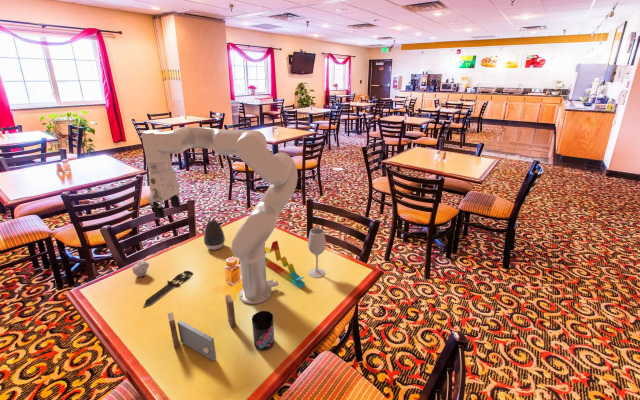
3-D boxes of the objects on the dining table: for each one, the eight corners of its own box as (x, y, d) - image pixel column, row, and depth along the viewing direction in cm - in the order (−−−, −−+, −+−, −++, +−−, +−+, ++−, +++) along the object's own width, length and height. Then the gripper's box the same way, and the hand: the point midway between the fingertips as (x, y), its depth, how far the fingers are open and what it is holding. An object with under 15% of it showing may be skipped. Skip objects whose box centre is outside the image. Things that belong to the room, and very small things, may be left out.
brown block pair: (232, 319, 116) (229, 294, 112) (235, 326, 113) (233, 300, 109) (172, 340, 106) (167, 313, 103) (174, 348, 103) (169, 321, 99)
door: (178, 344, 104) (174, 324, 102) (184, 339, 106) (180, 320, 103) (210, 363, 97) (207, 343, 95) (216, 358, 99) (213, 338, 96)
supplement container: (251, 350, 103) (249, 324, 99) (256, 335, 109) (254, 310, 105) (272, 352, 102) (270, 326, 99) (276, 336, 109) (275, 311, 105)
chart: (305, 285, 135) (304, 254, 130) (299, 289, 133) (298, 257, 128) (263, 258, 156) (261, 230, 150) (258, 261, 154) (256, 232, 148)
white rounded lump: (150, 277, 140) (147, 264, 137) (132, 281, 137) (128, 267, 135) (151, 270, 145) (149, 257, 143) (134, 273, 143) (131, 259, 140)
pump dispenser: (222, 252, 160) (219, 224, 155) (202, 252, 160) (198, 224, 155) (228, 242, 170) (225, 216, 165) (208, 242, 170) (205, 216, 165)
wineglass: (305, 275, 142) (305, 233, 134) (312, 267, 148) (312, 226, 141) (321, 279, 139) (321, 236, 132) (327, 270, 146) (328, 228, 138)
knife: (146, 310, 121) (145, 307, 120) (134, 305, 124) (133, 302, 123) (196, 275, 142) (196, 272, 142) (185, 271, 145) (185, 269, 144)
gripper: (154, 173, 103) (163, 222, 109) (183, 160, 119) (190, 203, 125) (132, 172, 104) (143, 220, 110) (164, 160, 120) (172, 202, 126)
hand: (168, 211), depth 117 cm, fingers open, 9 cm apart
